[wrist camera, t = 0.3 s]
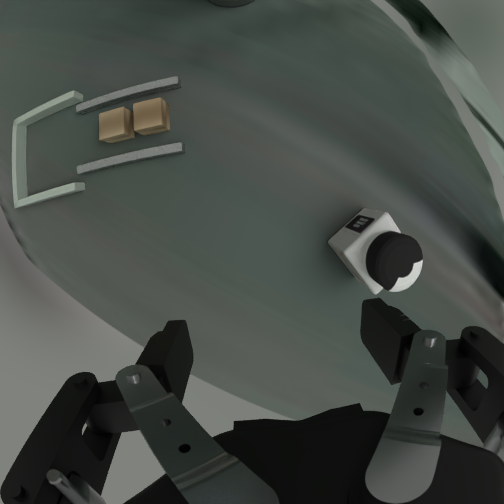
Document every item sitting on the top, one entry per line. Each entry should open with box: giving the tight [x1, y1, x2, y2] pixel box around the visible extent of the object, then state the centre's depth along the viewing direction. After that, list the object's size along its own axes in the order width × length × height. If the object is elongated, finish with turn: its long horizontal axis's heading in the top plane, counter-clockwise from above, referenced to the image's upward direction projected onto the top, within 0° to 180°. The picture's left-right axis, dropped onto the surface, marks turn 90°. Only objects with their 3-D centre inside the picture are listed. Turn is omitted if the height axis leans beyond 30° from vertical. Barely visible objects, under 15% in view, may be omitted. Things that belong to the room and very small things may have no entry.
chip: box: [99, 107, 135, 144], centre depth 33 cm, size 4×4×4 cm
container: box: [328, 208, 423, 294], centre depth 33 cm, size 8×8×13 cm
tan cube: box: [133, 97, 170, 136], centre depth 33 cm, size 4×4×4 cm
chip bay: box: [12, 90, 85, 208], centre depth 34 cm, size 16×15×3 cm
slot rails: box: [76, 76, 185, 174], centre depth 34 cm, size 11×17×2 cm
